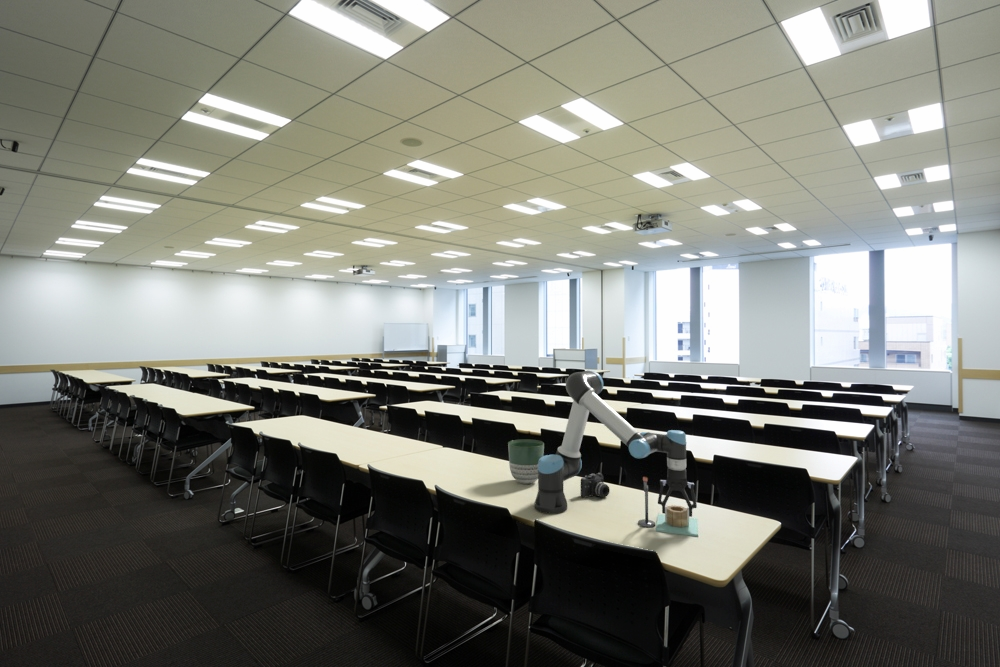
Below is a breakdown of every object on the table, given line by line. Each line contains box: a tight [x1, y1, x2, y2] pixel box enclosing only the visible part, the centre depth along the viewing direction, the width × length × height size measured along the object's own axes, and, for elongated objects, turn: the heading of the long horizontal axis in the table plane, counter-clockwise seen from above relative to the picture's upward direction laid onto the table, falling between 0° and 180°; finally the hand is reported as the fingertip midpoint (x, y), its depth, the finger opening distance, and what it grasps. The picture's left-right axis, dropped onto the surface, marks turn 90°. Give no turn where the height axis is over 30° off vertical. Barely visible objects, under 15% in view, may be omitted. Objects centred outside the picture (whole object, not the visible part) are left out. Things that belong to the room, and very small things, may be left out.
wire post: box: [637, 476, 656, 529], centre depth 205 cm, size 7×10×22 cm, turn 159°
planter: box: [507, 439, 545, 485], centre depth 267 cm, size 20×20×21 cm
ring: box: [667, 504, 687, 527], centre depth 205 cm, size 8×8×6 cm
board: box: [655, 513, 699, 537], centre depth 205 cm, size 16×18×1 cm
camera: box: [580, 472, 610, 499], centre depth 244 cm, size 14×11×10 cm
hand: (677, 522), depth 205 cm, fingers closed on ring, 8 cm apart
